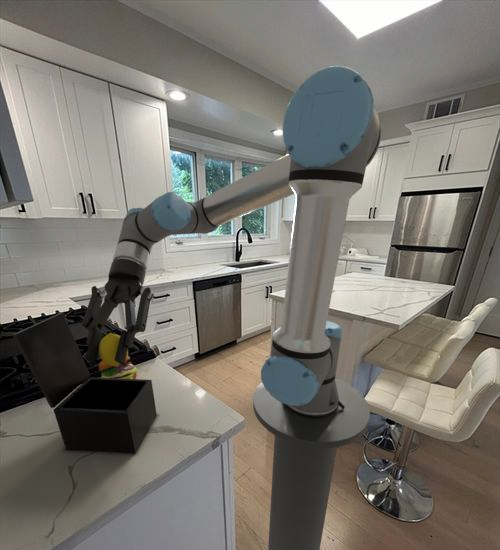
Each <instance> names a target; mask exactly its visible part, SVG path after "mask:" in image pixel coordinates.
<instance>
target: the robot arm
mask: <svg viewBox="0 0 500 550" xmlns="http://www.w3.org/2000/svg"><path fill="white" fill-rule="evenodd" d="M282 138H283V143H284V146H285V149H286V151H287V154H285V155H284V156H281V157H279V158H278V159H275V160H273V161H272V162H269V163H267V164H266V165H264V166H262V167H260V168H259V169H256V170H254V171H253V172H251V173H250V172H249V174H247V175H245V176H243V177H240V178H239V179H237V180H235V181H233V182H231V183H228V184H226V186H223V187H221V188H220V189H218V190H216V191H214V192H212V193H210V194H208V195H206V196H205V197H202V198H201V199H198V200H197V201H186V199H185V198H184V197H183V196H182V195H179V194H178V193H177V192H175V191H167V192H165V193H164V194H162V195H159V196H158V197H156V198H155V199H154V200H153V201H152V202H151V203H149V204H148V205H147V206H145V207H132V208H130V209H129V210H128V211H127V212H126V214H125V217H124V218H123V221H122V225H121V230H120V234H119V237H118V241H117V245H116V248H115V250H114V254H113V257H112V262H111V265H110V268H109V271H108V279H107V282H106V283H105V284H104V285H103V286H100V287H97V286H96V285H93V286H92V287H91V296H90V298H89V302H88V305H87V306H86V310H85V313H84V316H83V319H82V321H81V326H82V327H84V328H85V329H87V330H88V331H89V332H88V334H87V338H86V342H85V343H86V345H87V350H86V352H85V356H84V361H85V360H86V361H87V362H89V363H92V364H97V360H98V356H99V344H100V341H101V340H102V339H103V338H104V333H103V332H102V331H103V328H104V327H105V325H106V323H107V322H108V320H109V318H110V317H111V315H112V314H113V312H114V310H115V309H116V308H118V306H119V304H124V312H125V315H124V316H125V326H124V328H125V329H122V330H121V332H120V335H119V336H120V340H119V344H118V348H117V352H116V356H115V361H117V362H118V363H120V364H124V363H125V359H126V355H127V351H128V352H129V349H132V348H133V345H134V341H135V335H136V334H138V333H144V332H145V331H146V328H147V323H148V316H149V312H150V311H149V310H150V304H151V302H152V300H153V298H154V296H155V294H154V292H153V291H152V289H151V288H150V287H143V285H144V283H145V278H146V274H147V269H148V265H149V260H150V258H151V257H150V256H151V252H152V248H153V246H154V245H155V244H157V243H159V242H161V241H162V240H164V239H166V238H167V237H170V236H176V235H178V236H179V235H190V234H192V235H194V234H203V235H205V234H210V233H213V232H216V231H217V229H219V227H220V226H222V225H225V224H227V223H229V222H231V221H234V220H236V219H239V218H241V217H243V216H245V215H248V214H251V213H253V212H255V211H257V210H259V209H262V208H264V207H268V206H269V205H271V204H274V203H277V202H279V201H281V200H284V199H287V198H288V197H291V196H293V195H295V204H294V212H293V221H292V222H293V223H292V231H291V238H290V248H289V256H288V258H289V259H288V266H287V272H286V273H287V274H286V283H285V292H284V300H283V306H282V307H283V309H282V317H281V326H280V327H279V328H278V329H276V330H274V332H273V333H272V338H271V348H270V356H269V357H268V358H267V359H265V361H264V363H263V365H262V367H261V370H260V379H261V382H262V383H263V385H264V387H265V389H266V390H267V391H269V392H270V395H271V396H272V397H274V398H275V399H276V400H278V401H280V402H282V403H283V404H284V405H285V406H286V407H287V408H288V409H289V410H290V411H292V412H293V413H295V414H298V415H300V416H304V417H308V418H323V417H327V416H330V415H332V414H333V413H335V412H336V410H337V409H338V405H339V406H340V407H341V408H342V409H344V408H345V406H344V405H343V404H342V403H341V402H340V401H339V396H338V391H337V387H336V382H335V378H336V374H337V367H338V361H339V354H340V348H341V341H342V339H343V336H342V332H343V329H342V327H341V326H340V325H339V324H337V323H336V322H333V321H329V320H328V316H329V311H330V307H331V306H330V305H331V300H332V295H333V289H334V284H335V279H336V273H337V268H338V263H339V257H340V252H341V247H342V242H343V237H344V236H343V235H344V230H345V225H346V220H347V215H348V209H349V204H350V200H351V198H352V197H353V196H354V195H356V194H357V193H358V192H359V191H360V190H361V189H362V188H363V183H364V178H365V174H366V169H367V167H368V166H369V165H370V164H371V162H372V161H373V160H374V158H375V156H376V154H377V152H378V150H379V147H380V144H381V139H382V123H381V118H380V116H379V113H378V110H377V109H376V107H375V103H374V95H373V92H372V89H371V87H370V86H369V84H368V83H367V81H366V80H365V79H363V77H362V76H361V75H360V74H359V72H357V71H355V70H354V69H352V68H350V67H347V66H342V65H334V66H333V65H332V66H327V67H324V68H321V69H319V70H317V71H316V72H314V73H312V74H311V75H310V76H308V77H307V78H306V79H305V80H304V81H303V83H302V84H300V86H299V87H298V89H296V90H295V91H294V93H293V95H292V96H291V98H290V100H289V102H288V104H287V106H286V109H285V113H284V116H283V121H282ZM105 294H106V295H105ZM139 296H140V298H139V304H138V309H137V313H136V299H137V298H138V297H139Z"/></svg>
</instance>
